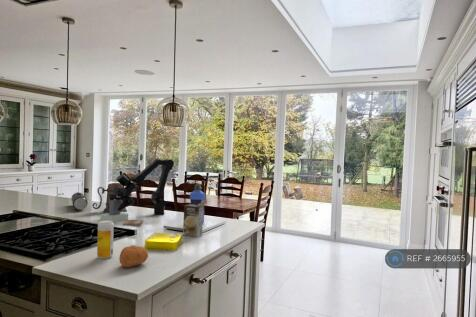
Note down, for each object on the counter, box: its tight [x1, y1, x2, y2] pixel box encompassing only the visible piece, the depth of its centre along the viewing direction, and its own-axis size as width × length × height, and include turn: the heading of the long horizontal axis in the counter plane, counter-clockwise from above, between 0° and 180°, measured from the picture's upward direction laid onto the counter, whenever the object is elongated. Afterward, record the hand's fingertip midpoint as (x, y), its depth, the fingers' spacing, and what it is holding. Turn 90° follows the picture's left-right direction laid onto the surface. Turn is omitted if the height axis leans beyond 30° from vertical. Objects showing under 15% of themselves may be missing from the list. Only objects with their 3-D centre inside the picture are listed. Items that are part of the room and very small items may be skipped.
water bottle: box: [189, 183, 206, 224], centre depth 203 cm, size 9×9×25 cm
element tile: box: [144, 232, 183, 252], centre depth 155 cm, size 15×15×5 cm
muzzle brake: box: [71, 192, 88, 211], centre depth 241 cm, size 10×28×10 cm, turn 30°
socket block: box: [99, 212, 129, 223], centre depth 204 cm, size 12×11×4 cm
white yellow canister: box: [96, 220, 115, 260], centre depth 136 cm, size 6×6×15 cm
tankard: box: [92, 182, 128, 214], centre depth 232 cm, size 24×17×20 cm
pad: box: [122, 219, 144, 227], centre depth 196 cm, size 10×10×2 cm
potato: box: [118, 244, 149, 268], centre depth 128 cm, size 9×11×8 cm
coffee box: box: [182, 203, 204, 238], centre depth 176 cm, size 9×6×16 cm
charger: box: [109, 200, 120, 215], centre depth 204 cm, size 5×4×12 cm
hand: (113, 209), depth 203 cm, fingers open, 9 cm apart
